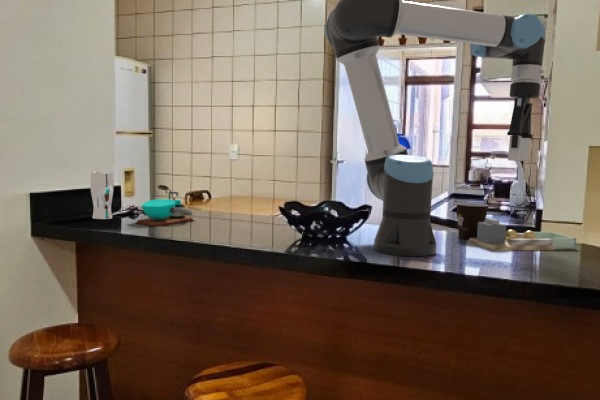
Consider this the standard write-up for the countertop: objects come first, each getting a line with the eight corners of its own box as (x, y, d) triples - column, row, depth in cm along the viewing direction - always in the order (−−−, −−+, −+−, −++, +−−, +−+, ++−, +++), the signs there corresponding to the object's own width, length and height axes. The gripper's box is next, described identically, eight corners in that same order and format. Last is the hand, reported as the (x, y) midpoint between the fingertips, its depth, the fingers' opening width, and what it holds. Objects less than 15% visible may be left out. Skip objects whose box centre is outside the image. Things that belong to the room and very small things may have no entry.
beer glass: (89, 220, 167) (88, 173, 165) (93, 217, 174) (92, 171, 172) (112, 220, 168) (111, 173, 167) (115, 217, 175) (114, 172, 173)
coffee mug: (487, 242, 148) (490, 206, 147) (456, 240, 150) (458, 205, 149) (482, 235, 159) (484, 202, 158) (452, 233, 161) (454, 201, 160)
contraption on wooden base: (204, 222, 170) (204, 175, 169) (165, 229, 155) (165, 178, 153) (171, 218, 177) (171, 173, 175) (130, 225, 161) (130, 175, 160)
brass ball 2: (527, 243, 141) (528, 231, 141) (520, 241, 144) (521, 229, 144) (538, 243, 142) (539, 231, 141) (530, 241, 145) (531, 229, 144)
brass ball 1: (508, 242, 142) (509, 230, 141) (502, 240, 145) (502, 228, 145) (519, 242, 142) (520, 230, 142) (512, 240, 146) (513, 228, 145)
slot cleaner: (487, 244, 138) (489, 220, 138) (476, 240, 144) (478, 217, 143) (504, 243, 139) (506, 220, 139) (493, 240, 145) (494, 217, 144)
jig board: (492, 251, 135) (493, 240, 135) (468, 242, 147) (469, 232, 147) (554, 250, 139) (555, 240, 138) (526, 241, 150) (527, 232, 150)
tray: (552, 249, 140) (552, 238, 139) (528, 242, 150) (529, 232, 149) (575, 249, 141) (576, 238, 141) (550, 242, 151) (551, 231, 151)
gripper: (533, 76, 130) (525, 161, 133) (546, 88, 152) (538, 161, 154) (502, 76, 134) (494, 159, 137) (518, 88, 156) (511, 160, 158)
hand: (517, 160), depth 145 cm, fingers open, 13 cm apart
